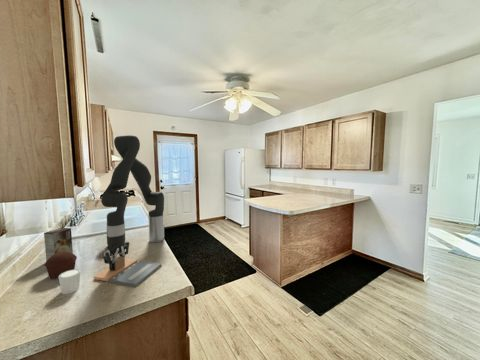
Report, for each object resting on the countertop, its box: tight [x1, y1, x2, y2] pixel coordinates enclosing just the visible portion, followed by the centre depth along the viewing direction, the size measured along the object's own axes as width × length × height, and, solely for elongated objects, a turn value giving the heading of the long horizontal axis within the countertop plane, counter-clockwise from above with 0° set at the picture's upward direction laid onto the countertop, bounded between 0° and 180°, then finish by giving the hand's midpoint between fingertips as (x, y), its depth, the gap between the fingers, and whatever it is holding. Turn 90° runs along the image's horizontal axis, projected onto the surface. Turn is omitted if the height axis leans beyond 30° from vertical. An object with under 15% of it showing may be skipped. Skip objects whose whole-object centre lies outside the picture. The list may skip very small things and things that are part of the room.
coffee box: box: [43, 227, 74, 262], centre depth 107 cm, size 9×6×16 cm
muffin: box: [43, 252, 77, 280], centre depth 93 cm, size 12×11×10 cm
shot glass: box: [58, 268, 81, 295], centre depth 81 cm, size 7×7×7 cm
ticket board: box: [109, 260, 162, 288], centre depth 94 cm, size 18×13×1 cm
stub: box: [93, 255, 139, 282], centre depth 97 cm, size 18×8×6 cm, turn 167°
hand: (117, 267), depth 97 cm, fingers closed on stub, 5 cm apart
